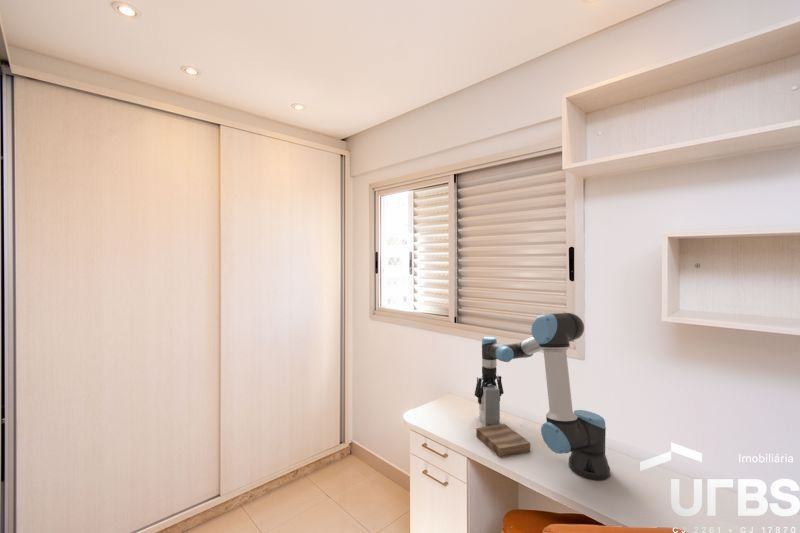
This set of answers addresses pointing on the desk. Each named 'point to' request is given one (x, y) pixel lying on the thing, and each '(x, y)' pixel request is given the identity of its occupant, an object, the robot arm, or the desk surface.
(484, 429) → the walnut riser
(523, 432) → the desk surface
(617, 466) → the desk surface
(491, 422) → the hard drive box
